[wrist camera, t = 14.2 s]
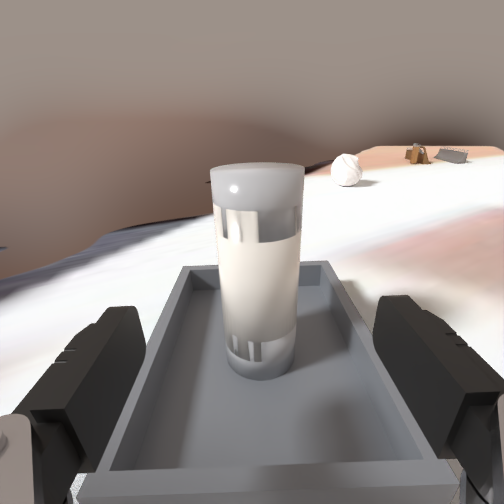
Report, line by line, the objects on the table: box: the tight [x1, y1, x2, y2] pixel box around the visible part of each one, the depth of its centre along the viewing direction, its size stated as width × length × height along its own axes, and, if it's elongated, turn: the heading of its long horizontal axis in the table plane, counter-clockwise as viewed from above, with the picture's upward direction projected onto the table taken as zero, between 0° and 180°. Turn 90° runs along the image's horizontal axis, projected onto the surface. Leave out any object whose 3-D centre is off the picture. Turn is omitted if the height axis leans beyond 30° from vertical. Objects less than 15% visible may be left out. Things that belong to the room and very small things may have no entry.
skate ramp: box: [405, 145, 468, 164], centre depth 105 cm, size 29×35×8 cm
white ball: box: [331, 154, 363, 186], centre depth 68 cm, size 8×8×8 cm
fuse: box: [210, 162, 305, 381], centre depth 16 cm, size 5×5×12 cm
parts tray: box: [76, 261, 460, 504], centre depth 18 cm, size 14×18×3 cm
